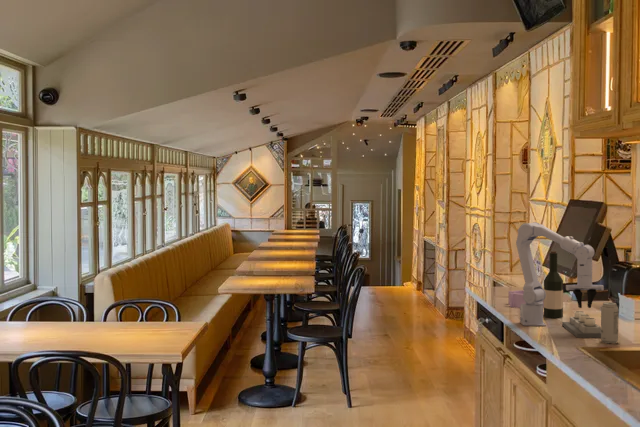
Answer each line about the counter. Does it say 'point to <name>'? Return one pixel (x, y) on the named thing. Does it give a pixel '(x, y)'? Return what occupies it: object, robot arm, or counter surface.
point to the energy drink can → (609, 322)
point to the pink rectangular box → (516, 298)
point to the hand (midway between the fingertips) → (584, 307)
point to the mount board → (582, 329)
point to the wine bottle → (553, 290)
